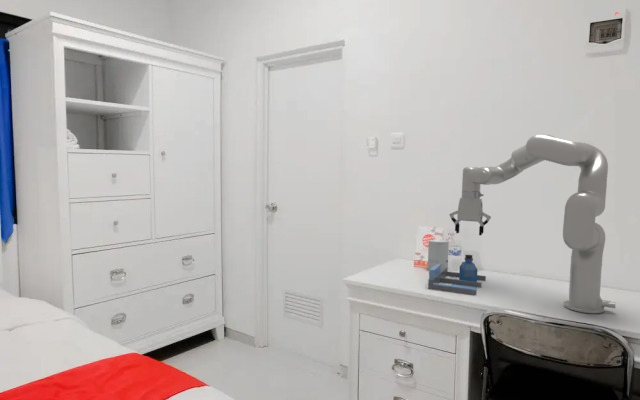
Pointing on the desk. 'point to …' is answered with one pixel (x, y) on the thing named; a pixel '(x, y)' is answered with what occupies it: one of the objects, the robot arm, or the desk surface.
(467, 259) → the perfume bottle
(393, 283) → the desk surface
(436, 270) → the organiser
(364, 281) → the desk surface
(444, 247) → the skincare box
